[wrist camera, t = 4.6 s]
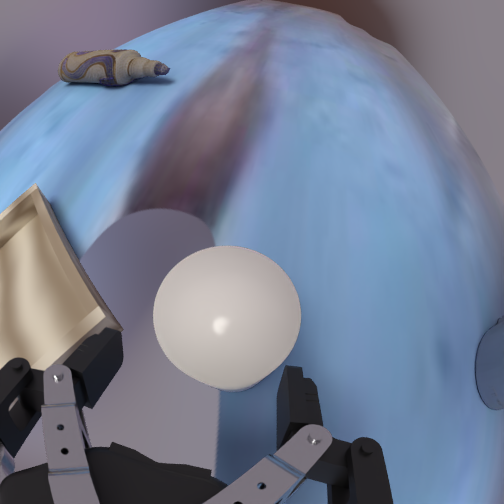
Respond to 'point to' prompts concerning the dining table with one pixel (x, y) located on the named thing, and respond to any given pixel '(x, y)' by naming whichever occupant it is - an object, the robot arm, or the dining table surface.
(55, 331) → the tray
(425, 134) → the dining table surface
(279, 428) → the robot arm
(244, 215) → the dining table surface
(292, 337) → the white dome-topped cylinder
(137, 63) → the decorative bottle
